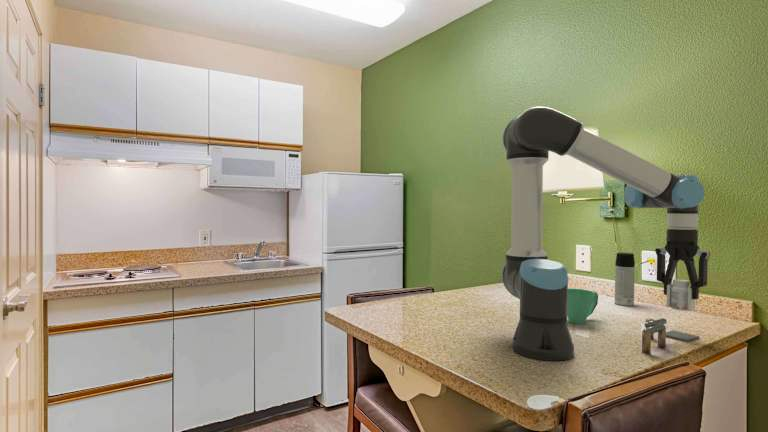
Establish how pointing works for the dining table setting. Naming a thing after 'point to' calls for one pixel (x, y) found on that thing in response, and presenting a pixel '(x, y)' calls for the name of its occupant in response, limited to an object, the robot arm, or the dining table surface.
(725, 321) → the dining table surface
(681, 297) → the pill bottle
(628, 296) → the spray can
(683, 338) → the pad
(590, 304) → the mug
